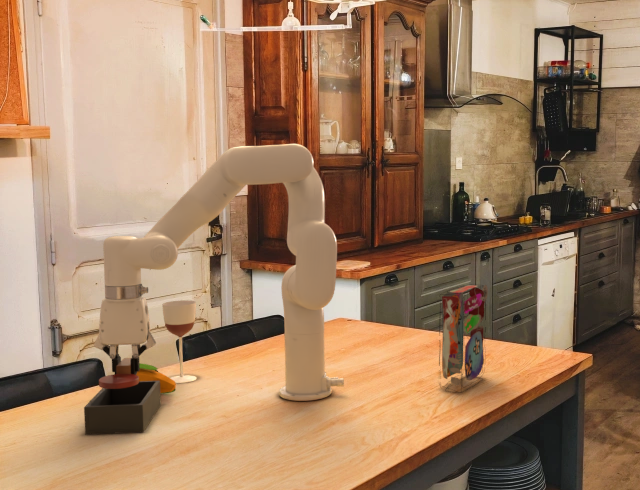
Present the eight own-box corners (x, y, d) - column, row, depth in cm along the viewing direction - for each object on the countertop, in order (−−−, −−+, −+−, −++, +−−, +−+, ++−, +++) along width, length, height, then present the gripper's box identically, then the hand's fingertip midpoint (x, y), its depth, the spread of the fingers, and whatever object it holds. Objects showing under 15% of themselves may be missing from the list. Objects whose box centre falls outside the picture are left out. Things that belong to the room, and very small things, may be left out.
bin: (160, 404, 180) (160, 380, 179) (143, 432, 161) (142, 405, 160) (108, 406, 178) (107, 382, 178) (85, 434, 159) (83, 407, 159)
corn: (129, 355, 195) (187, 364, 185) (132, 384, 197) (189, 395, 187) (105, 363, 189) (163, 373, 179) (108, 393, 190) (166, 405, 180)
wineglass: (158, 381, 199) (155, 304, 197) (180, 373, 207) (177, 299, 205) (183, 384, 196) (181, 306, 194) (204, 376, 204) (202, 301, 202)
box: (476, 368, 212) (477, 279, 210) (497, 370, 209) (498, 281, 207) (438, 391, 190) (438, 292, 188) (461, 394, 187) (462, 294, 185)
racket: (148, 370, 176) (148, 357, 176) (134, 388, 162) (134, 374, 161) (112, 371, 175) (111, 358, 175) (94, 389, 161) (93, 375, 160)
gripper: (164, 289, 174) (167, 369, 176) (89, 290, 172) (92, 371, 174) (158, 294, 167) (160, 378, 169) (79, 296, 165) (82, 380, 167)
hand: (126, 374), depth 171 cm, fingers closed on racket, 2 cm apart
